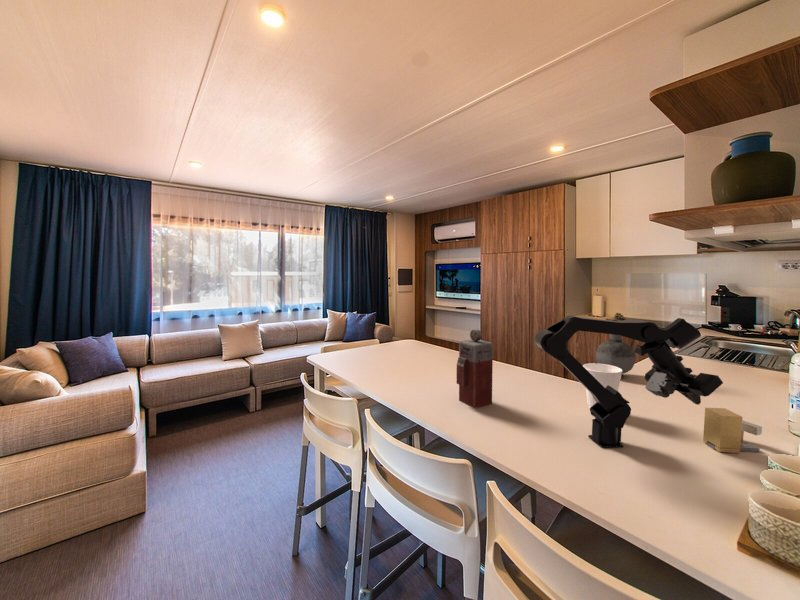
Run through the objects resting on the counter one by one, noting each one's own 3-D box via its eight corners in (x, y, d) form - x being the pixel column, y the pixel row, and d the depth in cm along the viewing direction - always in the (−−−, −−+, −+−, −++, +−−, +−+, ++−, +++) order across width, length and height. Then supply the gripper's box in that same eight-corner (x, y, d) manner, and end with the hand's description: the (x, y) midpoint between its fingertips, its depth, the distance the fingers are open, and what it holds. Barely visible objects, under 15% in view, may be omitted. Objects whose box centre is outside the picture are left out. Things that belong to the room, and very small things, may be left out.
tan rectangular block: (719, 451, 89) (721, 415, 89) (703, 441, 95) (705, 407, 94) (739, 452, 89) (742, 416, 88) (722, 442, 94) (724, 408, 94)
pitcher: (591, 374, 160) (593, 312, 158) (624, 371, 164) (626, 311, 162) (609, 381, 150) (612, 315, 147) (644, 377, 154) (647, 313, 151)
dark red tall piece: (453, 401, 127) (454, 329, 125) (476, 396, 133) (476, 326, 130) (469, 409, 119) (469, 332, 117) (492, 403, 125) (493, 330, 123)
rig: (714, 449, 91) (715, 428, 90) (690, 434, 100) (691, 414, 99) (769, 452, 89) (770, 430, 89) (740, 436, 98) (741, 416, 98)
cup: (584, 416, 113) (585, 370, 111) (578, 403, 124) (580, 362, 122) (625, 421, 108) (627, 374, 107) (615, 408, 120) (617, 364, 118)
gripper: (618, 371, 101) (649, 412, 100) (672, 383, 82) (710, 433, 82) (645, 348, 101) (676, 389, 101) (704, 355, 83) (742, 405, 83)
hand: (698, 403), depth 92 cm, fingers closed
